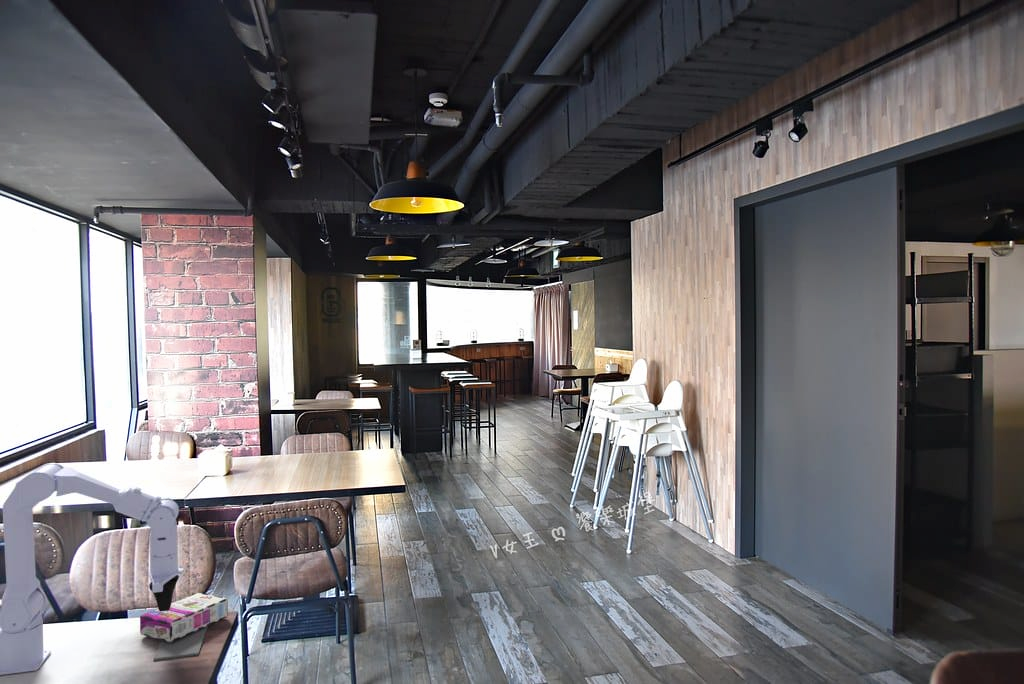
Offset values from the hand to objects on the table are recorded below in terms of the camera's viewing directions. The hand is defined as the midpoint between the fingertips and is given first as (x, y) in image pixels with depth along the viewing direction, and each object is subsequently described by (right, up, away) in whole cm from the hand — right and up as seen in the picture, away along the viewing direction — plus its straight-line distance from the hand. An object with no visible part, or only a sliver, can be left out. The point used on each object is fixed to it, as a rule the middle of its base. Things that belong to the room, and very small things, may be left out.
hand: (164, 609), depth 153 cm
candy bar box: (-3, -5, +1) cm, 6 cm away
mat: (+3, -8, +1) cm, 9 cm away
